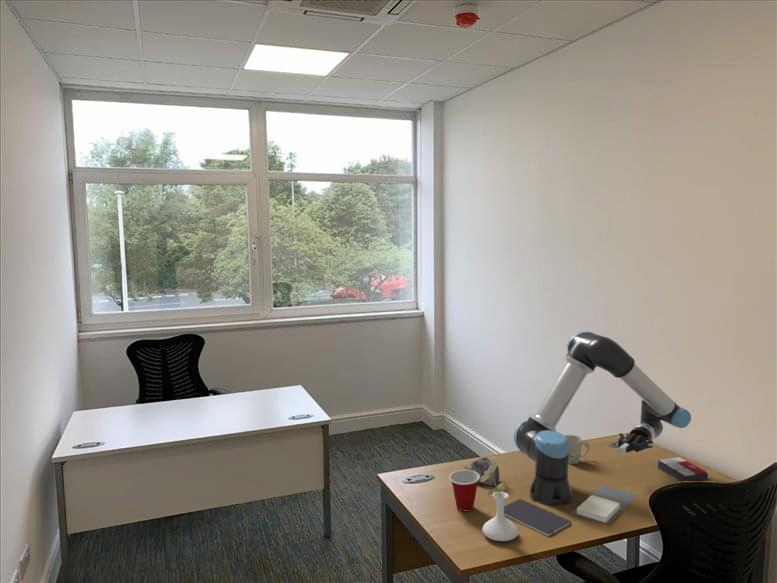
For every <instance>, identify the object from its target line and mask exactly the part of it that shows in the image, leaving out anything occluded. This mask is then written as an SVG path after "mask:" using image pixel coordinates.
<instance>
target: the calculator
mask: <svg viewBox="0 0 777 583" xmlns="http://www.w3.org/2000/svg"><path fill="white" fill-rule="evenodd" d="M657 460H658V459H657ZM657 469H658V470H659V471H662V472H664V473H666V474H668V475H669V476H671V477H673V478H675V479H676V480H678V481H680V482H682V481H696V482H701V481H707V480H708V479H709V478H708V477H709V476H708V475H709V474H708V472H707V471H706V470H705V469H702V468H700V467H699V466H697V465H695V464H694V463H692V462H690V461H688V460H686V459H684V458H682V457H680V456H679V457H670V458H664V459H659V460H658V461H657Z"/></svg>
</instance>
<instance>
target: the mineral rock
mask: <svg viewBox="0 0 777 583" xmlns="http://www.w3.org/2000/svg"><path fill="white" fill-rule="evenodd" d="M494 462H495V464H496V463H497V462H496V461H495V460H490V459H489V458H488V457H485V456H484V457H482V458H481V457H480V458H479V459H477V460H474V461H471V463H470V464H469V465H468V464H467V465H465V466H464V470H471V471H475V472H477V473H478V474H479V475H480V478H481V477H482V476H483V475H485V474H484V472H485V471H487V470H488V468H489V466H490V465H493V464H494ZM492 475H493V478H494V480H495V483H496V485H497V483H498V482H500V468H499V466H498V464H497V467H496V469H495V471H494V472H493V474H492ZM480 478H479V481H478V483H481V484H485V485H489V486H494V485H495V483H494V480H493V478H492V476H490V477H489V478H488V479H487V480H486V481H484V482H480V481H481V479H480ZM498 484H499V483H498Z"/></svg>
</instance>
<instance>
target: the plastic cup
mask: <svg viewBox="0 0 777 583" xmlns="http://www.w3.org/2000/svg"><path fill="white" fill-rule="evenodd" d="M448 478H449V480H450V482H451V485H452V490H453V495H454V499H455V504H456V505H455V506H456V508H457V510H459V509H461V510H471V509H472V508H473V509H474V505H475V504H474V503H475V500H476V495H477V489H478V488H477V487H478V483H479V482H478V481H479V478H480V475H479V474H478V473H477V472H475V471H471V470H465V469H461V470H455V471H452V472H451V474H449V477H448ZM473 509H472V510H473ZM461 510H460V511H461ZM472 510H471V511H472Z"/></svg>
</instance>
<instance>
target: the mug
mask: <svg viewBox="0 0 777 583" xmlns="http://www.w3.org/2000/svg"><path fill="white" fill-rule="evenodd" d="M564 436H565V437H566V438H567V440H568V444H569V458H568V465H569V464H570V465H577V464H579V463H580V458H583V457H585V456H586V455H587V454H588V453H589V451H590V444H589V442H588V441H586V440H583V438H581V437H580V436H578V435H574V434H567V435H566V434H565V435H564ZM583 445H585V446H586V450H585V451H584V453H583V454H581V451H582V446H583Z"/></svg>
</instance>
